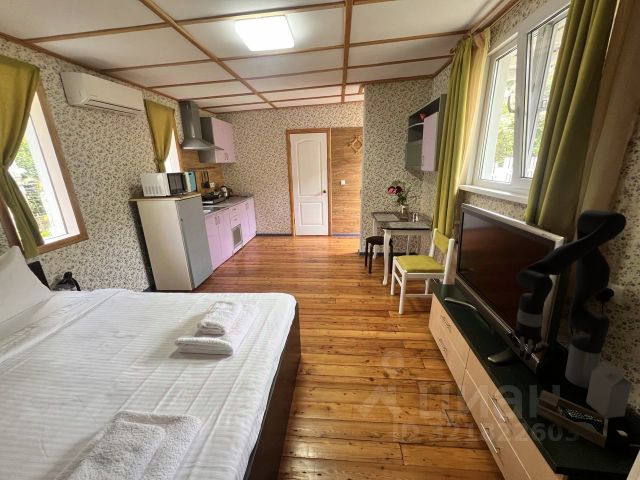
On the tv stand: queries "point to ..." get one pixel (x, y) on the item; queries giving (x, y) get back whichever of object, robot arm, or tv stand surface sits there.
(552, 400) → the walnut block
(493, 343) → the tv stand surface
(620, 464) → the tv stand surface
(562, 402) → the wooden tray
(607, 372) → the milk carton
